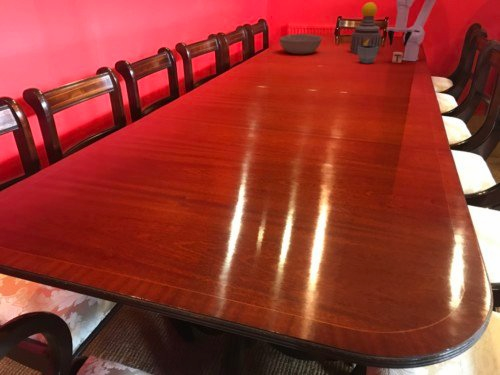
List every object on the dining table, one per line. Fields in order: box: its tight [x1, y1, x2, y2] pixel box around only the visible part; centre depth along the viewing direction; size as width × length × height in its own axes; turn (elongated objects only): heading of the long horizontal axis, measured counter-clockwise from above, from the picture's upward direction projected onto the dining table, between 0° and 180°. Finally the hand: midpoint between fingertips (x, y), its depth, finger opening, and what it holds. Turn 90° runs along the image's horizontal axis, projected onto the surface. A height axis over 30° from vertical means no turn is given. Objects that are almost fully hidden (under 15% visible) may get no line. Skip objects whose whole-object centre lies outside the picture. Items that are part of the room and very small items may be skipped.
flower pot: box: [357, 45, 380, 64], centre depth 226 cm, size 9×9×9 cm
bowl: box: [278, 33, 323, 55], centre depth 258 cm, size 28×28×10 cm
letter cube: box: [391, 51, 404, 63], centre depth 229 cm, size 5×5×5 cm
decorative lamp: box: [349, 1, 382, 55], centre depth 252 cm, size 19×19×30 cm
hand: (397, 45), depth 222 cm, fingers open, 7 cm apart
